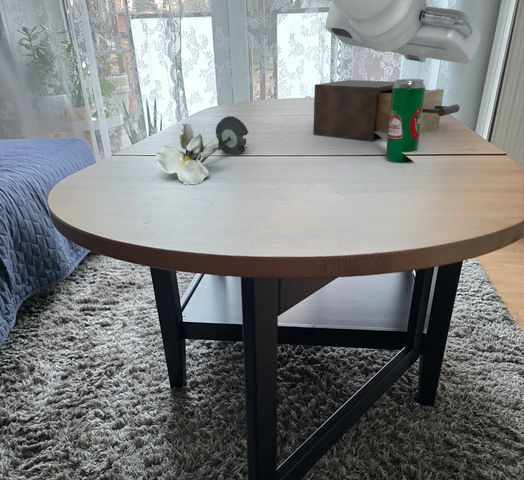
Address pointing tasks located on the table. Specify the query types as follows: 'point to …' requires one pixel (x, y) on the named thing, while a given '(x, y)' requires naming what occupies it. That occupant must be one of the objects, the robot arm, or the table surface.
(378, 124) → the drawer
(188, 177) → the artificial flower
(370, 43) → the robot arm
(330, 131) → the cabinet
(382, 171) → the table surface
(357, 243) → the table surface
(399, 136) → the soda can
